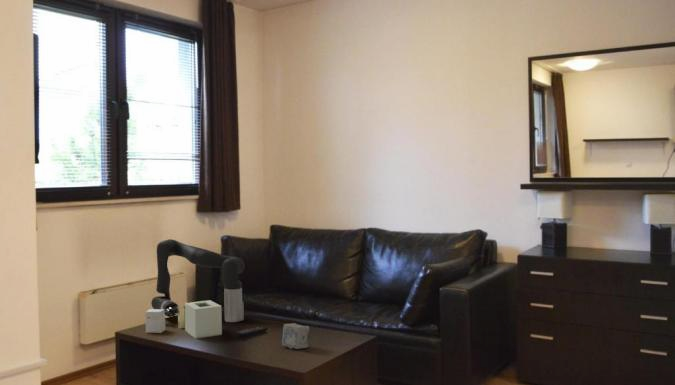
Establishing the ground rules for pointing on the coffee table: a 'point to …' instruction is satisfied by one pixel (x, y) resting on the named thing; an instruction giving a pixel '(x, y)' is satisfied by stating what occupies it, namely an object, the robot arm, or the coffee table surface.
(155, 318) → the small box
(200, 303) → the box
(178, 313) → the brass token
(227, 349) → the coffee table surface
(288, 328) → the incense holder
